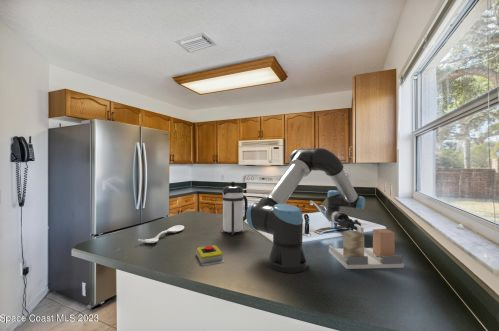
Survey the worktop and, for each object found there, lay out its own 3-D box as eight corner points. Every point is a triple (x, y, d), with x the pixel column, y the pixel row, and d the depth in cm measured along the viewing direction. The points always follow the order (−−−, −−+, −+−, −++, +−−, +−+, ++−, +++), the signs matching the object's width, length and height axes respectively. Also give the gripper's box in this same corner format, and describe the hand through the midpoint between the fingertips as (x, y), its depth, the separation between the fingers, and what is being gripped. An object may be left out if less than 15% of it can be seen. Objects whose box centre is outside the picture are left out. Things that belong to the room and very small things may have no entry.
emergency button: (215, 241, 107) (224, 252, 93) (215, 250, 107) (224, 263, 93) (195, 244, 103) (202, 256, 89) (195, 253, 103) (202, 267, 89)
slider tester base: (346, 268, 87) (346, 257, 87) (328, 252, 104) (328, 242, 104) (403, 267, 89) (403, 256, 89) (376, 251, 106) (377, 241, 106)
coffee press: (246, 236, 127) (247, 182, 127) (218, 236, 127) (218, 182, 127) (247, 227, 144) (247, 180, 144) (222, 227, 145) (222, 180, 144)
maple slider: (349, 263, 88) (349, 234, 88) (343, 257, 93) (343, 231, 93) (364, 262, 89) (364, 234, 89) (357, 257, 94) (357, 231, 94)
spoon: (136, 246, 112) (136, 239, 112) (174, 228, 143) (174, 223, 143) (152, 247, 109) (152, 240, 109) (187, 229, 140) (187, 224, 140)
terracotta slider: (380, 260, 91) (380, 232, 91) (372, 255, 96) (373, 229, 96) (394, 259, 92) (394, 232, 92) (386, 254, 97) (386, 229, 97)
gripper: (351, 225, 134) (375, 237, 111) (329, 225, 134) (349, 238, 110) (351, 212, 134) (375, 222, 111) (329, 212, 134) (349, 222, 110)
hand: (362, 230), depth 110 cm, fingers closed
